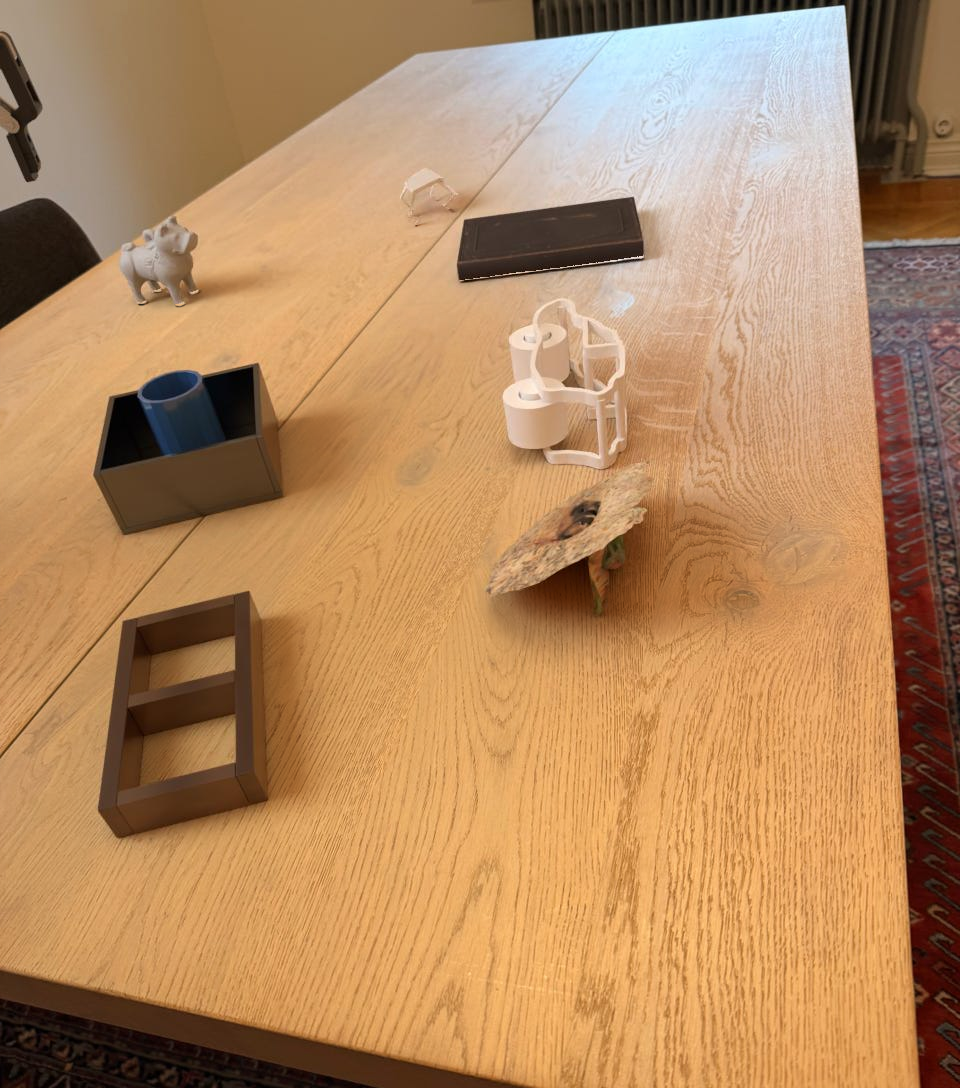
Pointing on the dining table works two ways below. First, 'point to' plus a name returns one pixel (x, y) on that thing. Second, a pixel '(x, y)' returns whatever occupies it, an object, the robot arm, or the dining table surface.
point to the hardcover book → (549, 238)
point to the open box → (191, 457)
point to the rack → (184, 717)
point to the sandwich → (577, 535)
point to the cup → (180, 411)
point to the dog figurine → (160, 260)
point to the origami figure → (422, 182)
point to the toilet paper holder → (542, 396)
